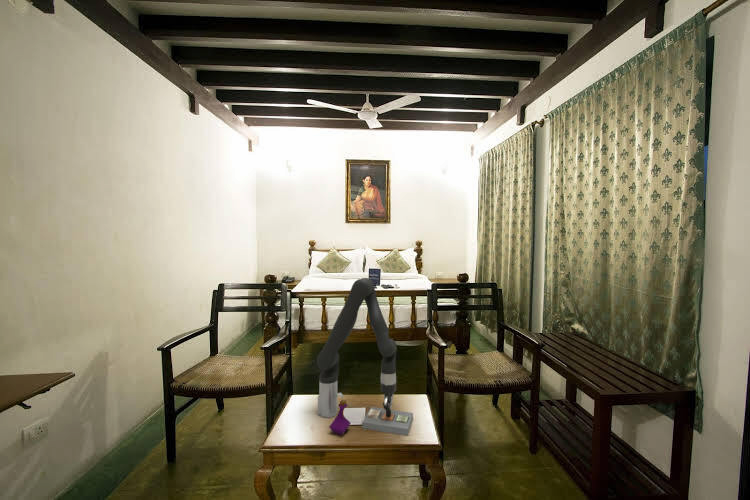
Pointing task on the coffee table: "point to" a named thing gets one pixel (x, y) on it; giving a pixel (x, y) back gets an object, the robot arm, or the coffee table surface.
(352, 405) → the coffee table surface
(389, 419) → the terracotta tile
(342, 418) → the perfume bottle
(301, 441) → the coffee table surface
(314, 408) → the coffee table surface
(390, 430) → the tile board
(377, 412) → the cream tile
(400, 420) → the sage tile
